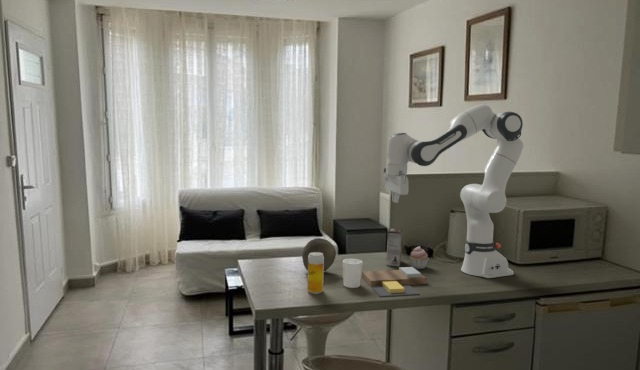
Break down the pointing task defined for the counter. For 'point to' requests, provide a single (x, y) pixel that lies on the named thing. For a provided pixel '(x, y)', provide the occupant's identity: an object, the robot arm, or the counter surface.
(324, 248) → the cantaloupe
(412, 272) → the grey flat block
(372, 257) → the counter surface
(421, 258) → the cupcake
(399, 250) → the coffee box
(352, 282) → the white cup
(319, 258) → the pill bottle
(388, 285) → the card mustard
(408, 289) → the mat
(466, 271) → the robot arm
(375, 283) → the brown wooden flat block
